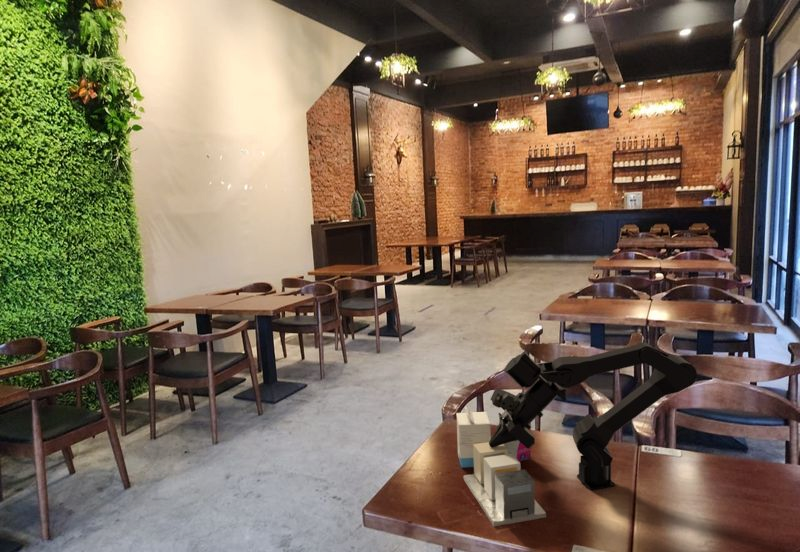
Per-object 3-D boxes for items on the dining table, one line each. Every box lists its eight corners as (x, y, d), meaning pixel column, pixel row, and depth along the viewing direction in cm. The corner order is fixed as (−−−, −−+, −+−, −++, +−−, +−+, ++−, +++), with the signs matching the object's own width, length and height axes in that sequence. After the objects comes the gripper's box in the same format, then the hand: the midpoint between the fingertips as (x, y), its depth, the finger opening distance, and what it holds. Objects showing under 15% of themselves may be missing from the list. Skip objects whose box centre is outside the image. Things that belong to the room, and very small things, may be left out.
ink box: (492, 466, 135) (491, 417, 133) (460, 468, 135) (458, 418, 134) (487, 451, 144) (486, 404, 142) (457, 452, 144) (455, 406, 142)
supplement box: (514, 464, 136) (513, 422, 134) (500, 455, 141) (499, 415, 139) (531, 458, 138) (531, 417, 137) (517, 450, 143) (516, 410, 142)
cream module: (512, 484, 123) (511, 453, 122) (521, 495, 119) (520, 463, 118) (484, 489, 122) (483, 457, 121) (492, 500, 117) (491, 468, 116)
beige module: (500, 470, 130) (499, 440, 129) (508, 480, 126) (507, 449, 125) (474, 474, 129) (473, 444, 128) (481, 484, 124) (480, 453, 123)
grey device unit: (508, 472, 132) (508, 439, 131) (546, 517, 112) (545, 479, 111) (463, 479, 130) (462, 445, 128) (493, 526, 110) (492, 487, 109)
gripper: (503, 366, 133) (461, 409, 135) (519, 392, 115) (470, 441, 116) (534, 394, 134) (493, 437, 136) (555, 424, 116) (506, 473, 117)
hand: (490, 445), depth 126 cm, fingers closed, pressing on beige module
